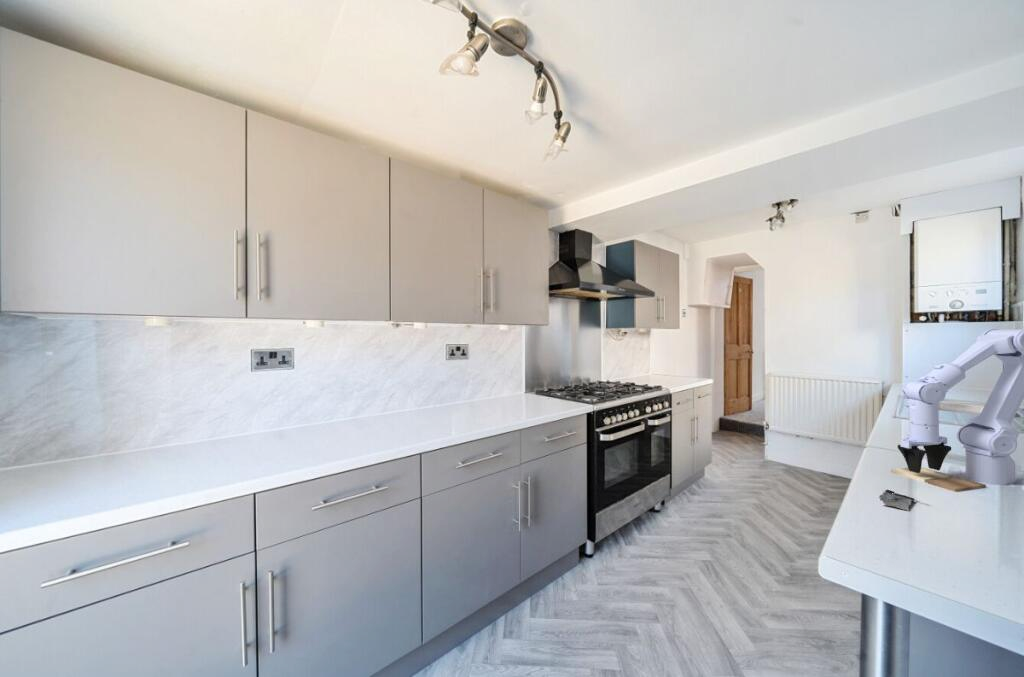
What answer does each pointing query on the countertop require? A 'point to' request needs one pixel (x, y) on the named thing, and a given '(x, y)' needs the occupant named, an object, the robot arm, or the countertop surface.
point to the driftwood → (896, 500)
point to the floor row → (956, 484)
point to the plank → (922, 474)
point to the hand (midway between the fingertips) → (924, 470)
